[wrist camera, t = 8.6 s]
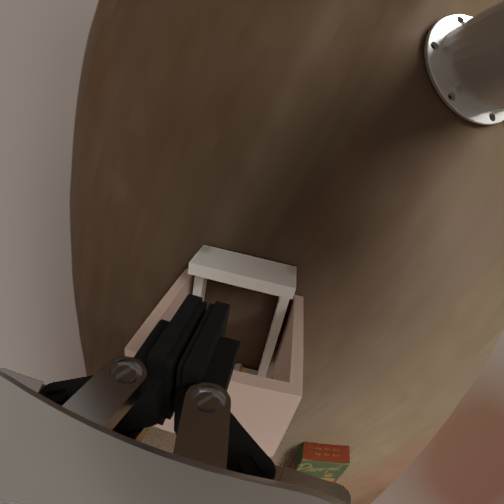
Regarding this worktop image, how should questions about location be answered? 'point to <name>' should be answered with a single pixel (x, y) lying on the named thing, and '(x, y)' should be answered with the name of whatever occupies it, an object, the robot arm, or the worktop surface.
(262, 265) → the rack
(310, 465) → the carton
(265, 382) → the cubby
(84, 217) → the worktop surface
